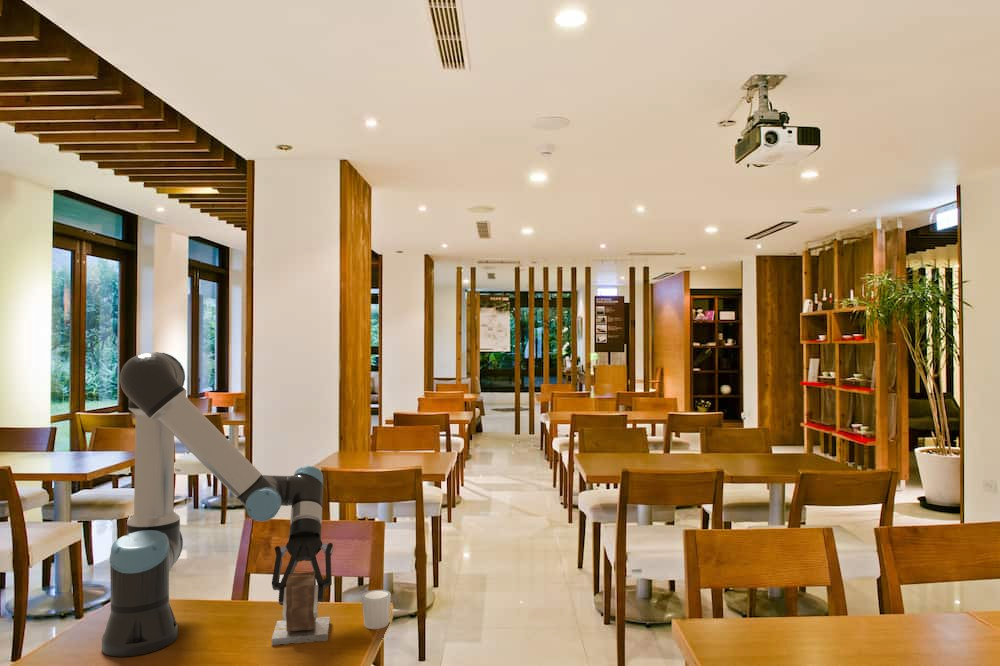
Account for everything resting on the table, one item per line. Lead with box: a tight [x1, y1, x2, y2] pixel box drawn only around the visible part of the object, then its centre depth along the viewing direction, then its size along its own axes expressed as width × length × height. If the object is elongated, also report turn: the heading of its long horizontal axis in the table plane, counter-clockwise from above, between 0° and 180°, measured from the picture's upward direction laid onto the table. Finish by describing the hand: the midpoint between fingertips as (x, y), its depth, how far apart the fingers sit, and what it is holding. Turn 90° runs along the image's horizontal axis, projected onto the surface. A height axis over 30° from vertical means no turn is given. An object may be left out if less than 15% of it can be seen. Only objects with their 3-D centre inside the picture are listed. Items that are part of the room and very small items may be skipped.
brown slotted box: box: [286, 571, 317, 632], centre depth 158 cm, size 6×6×11 cm
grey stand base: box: [271, 616, 331, 646], centre depth 158 cm, size 12×10×6 cm
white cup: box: [361, 589, 392, 630], centre depth 163 cm, size 7×7×7 cm
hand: (300, 616), depth 154 cm, fingers closed on brown slotted box, 6 cm apart
